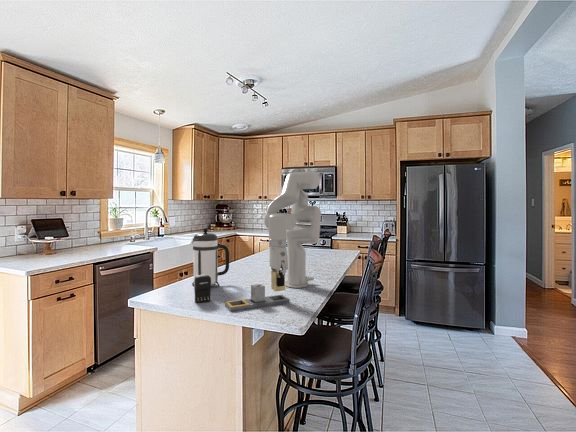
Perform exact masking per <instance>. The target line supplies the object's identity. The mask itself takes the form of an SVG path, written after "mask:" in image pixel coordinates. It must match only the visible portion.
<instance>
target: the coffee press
mask: <svg viewBox="0 0 576 432" xmlns="http://www.w3.org/2000/svg"><path fill="white" fill-rule="evenodd" d="M208 230H209V229H208V228H207V227H204V228H203V232H201V233H197V234H195V235H193V238H192V239H191V242H190V243H189V245H191V246H192V245H193V246H192V250H193V256H192V257H193V280H194V279H195V277H196V276H198V275H209V276H210V278H211V286H214V287H215V288H220V284H219V281H218V277H219V276H223V275H226V274H227V273H228V271H229V269H230V251H229V248H228V246H226V245H223V244H218V242H219V238H218V236H217V234H216V233H212V232H208ZM218 249H223V250H224V253H225V255H224V256H225V267H224V269H223V270H222V271H219V269H218V261H219V260H218V255H219V254H218V251H219V250H218ZM191 284H192V286H193V287H194V281H193V282H192V283H191Z"/></svg>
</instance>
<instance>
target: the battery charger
mask: <svg viewBox="0 0 576 432" xmlns="http://www.w3.org/2000/svg"><path fill="white" fill-rule="evenodd" d="M193 282H194V286H193V291H194V302H195V303H206V302H210V301H211V292H212V291H211V287H212V285H211V278H210V276H209V275H198V276H196V277H195V279H194V278H193Z"/></svg>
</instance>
